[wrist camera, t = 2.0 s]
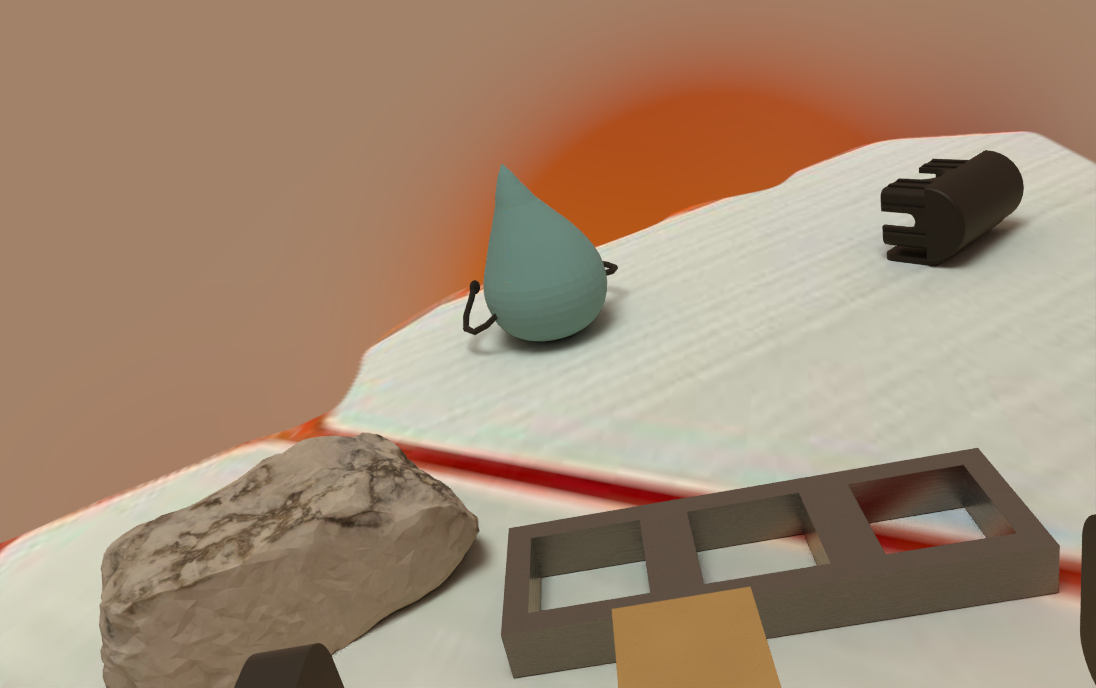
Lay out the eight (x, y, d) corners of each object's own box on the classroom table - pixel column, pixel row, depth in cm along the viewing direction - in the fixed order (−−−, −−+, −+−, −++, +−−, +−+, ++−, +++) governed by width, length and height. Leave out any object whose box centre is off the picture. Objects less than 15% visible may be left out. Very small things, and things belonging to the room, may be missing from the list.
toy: (593, 284, 85) (561, 125, 79) (667, 312, 75) (637, 134, 69) (452, 342, 79) (406, 175, 73) (513, 381, 69) (466, 192, 63)
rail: (513, 678, 41) (501, 635, 40) (519, 566, 48) (508, 528, 47) (1058, 592, 39) (1059, 545, 38) (978, 489, 46) (978, 447, 45)
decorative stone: (125, 766, 39) (63, 548, 38) (104, 661, 51) (55, 491, 50) (515, 599, 48) (477, 419, 47) (421, 543, 60) (388, 397, 59)
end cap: (965, 274, 70) (963, 189, 68) (881, 263, 75) (876, 184, 73) (1024, 230, 76) (1025, 150, 73) (942, 222, 81) (940, 148, 78)
